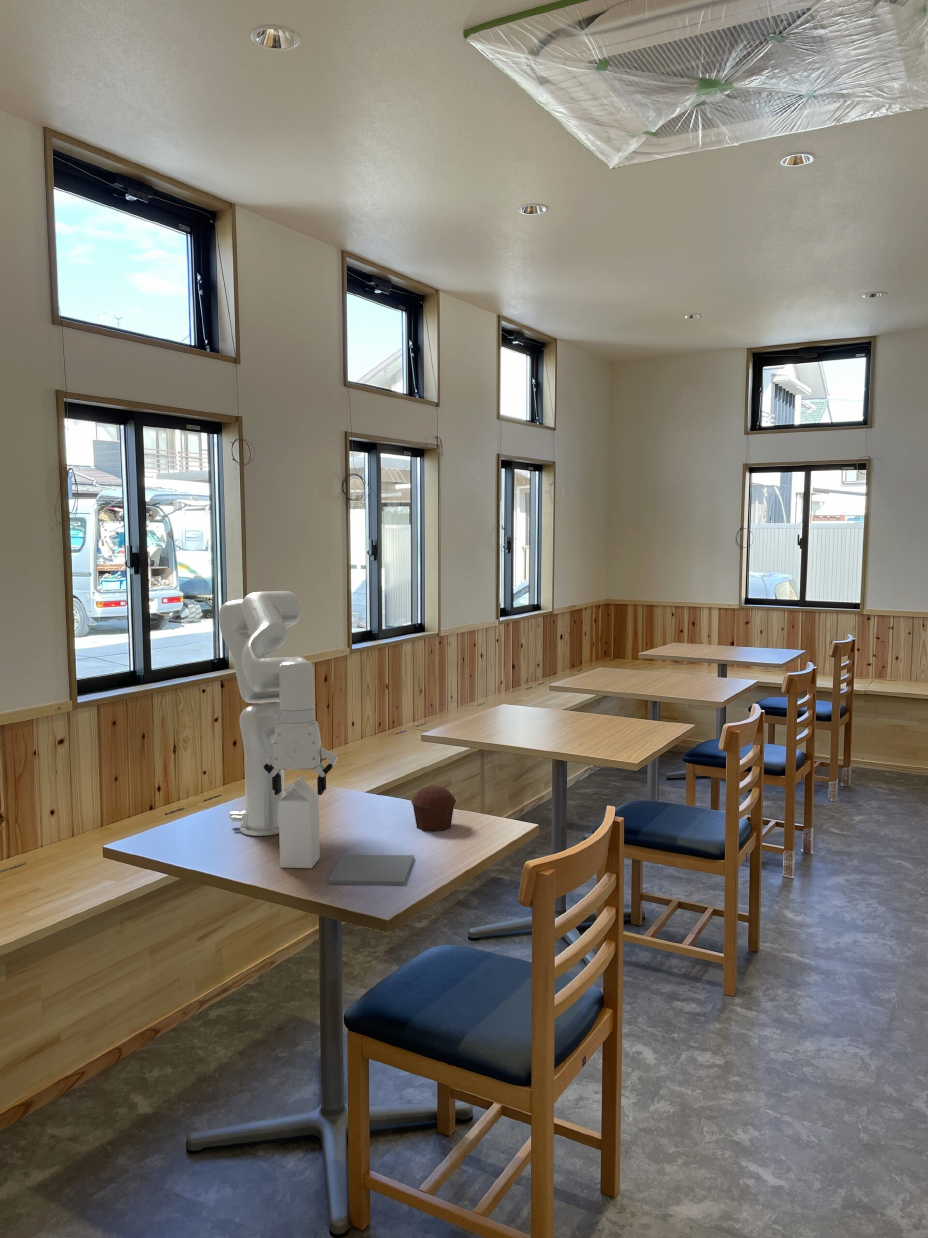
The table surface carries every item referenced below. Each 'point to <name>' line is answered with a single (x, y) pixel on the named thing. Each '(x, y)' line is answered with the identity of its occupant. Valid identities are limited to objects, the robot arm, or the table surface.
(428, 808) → the muffin
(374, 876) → the mat
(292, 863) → the milk carton
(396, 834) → the table surface
